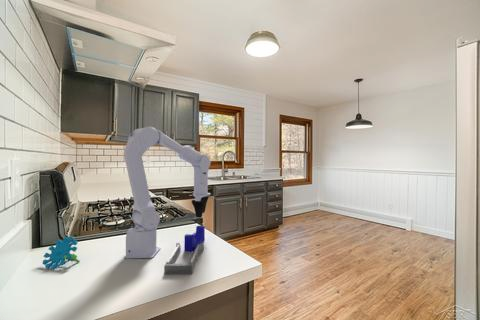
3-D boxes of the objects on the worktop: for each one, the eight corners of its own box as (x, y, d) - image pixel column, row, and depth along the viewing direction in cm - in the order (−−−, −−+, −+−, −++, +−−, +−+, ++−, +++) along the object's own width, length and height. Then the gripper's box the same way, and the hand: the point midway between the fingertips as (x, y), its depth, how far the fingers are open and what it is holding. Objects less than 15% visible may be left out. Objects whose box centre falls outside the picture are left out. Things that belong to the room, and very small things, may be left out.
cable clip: (194, 239, 93) (194, 225, 93) (204, 240, 92) (204, 226, 92) (180, 251, 81) (180, 235, 81) (192, 252, 80) (192, 236, 80)
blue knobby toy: (33, 261, 69) (61, 232, 75) (48, 268, 73) (73, 240, 79) (56, 273, 65) (83, 241, 71) (70, 280, 69) (95, 249, 75)
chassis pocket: (160, 274, 65) (160, 264, 65) (176, 249, 82) (176, 241, 82) (195, 274, 65) (195, 264, 65) (203, 249, 83) (203, 242, 83)
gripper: (207, 185, 88) (207, 219, 88) (212, 181, 102) (212, 210, 102) (189, 185, 88) (189, 219, 88) (196, 181, 102) (196, 210, 102)
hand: (200, 214), depth 95 cm, fingers open, 7 cm apart
